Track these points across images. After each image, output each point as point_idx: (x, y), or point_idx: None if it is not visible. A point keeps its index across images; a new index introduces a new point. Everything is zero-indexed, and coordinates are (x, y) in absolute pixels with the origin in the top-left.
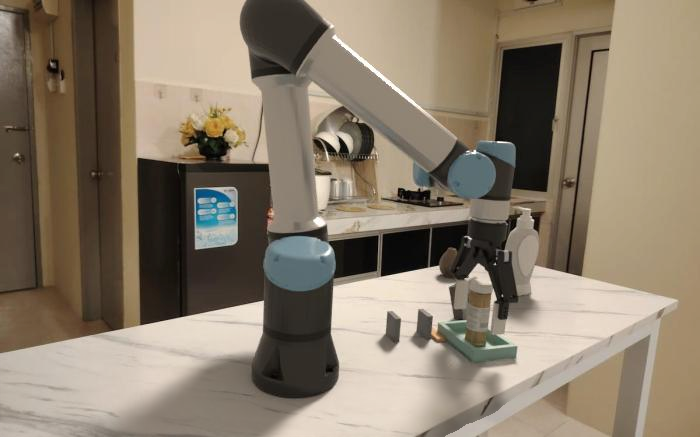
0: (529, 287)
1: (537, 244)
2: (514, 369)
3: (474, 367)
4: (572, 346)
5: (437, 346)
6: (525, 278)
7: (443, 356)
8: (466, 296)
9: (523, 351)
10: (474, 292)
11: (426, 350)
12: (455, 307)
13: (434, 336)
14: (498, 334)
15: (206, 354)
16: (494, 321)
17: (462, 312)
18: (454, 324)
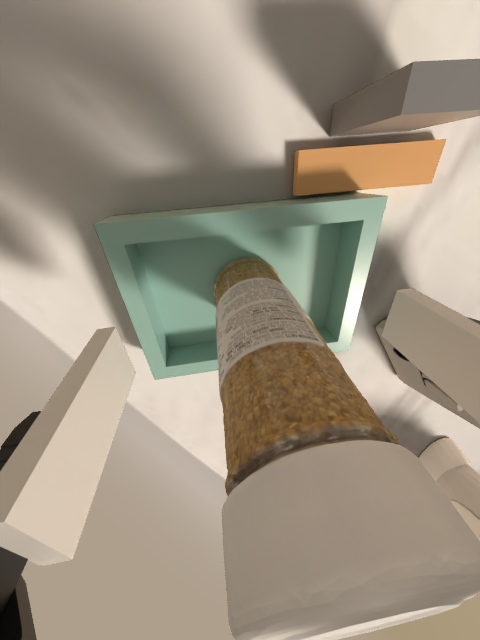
0: None
1: None
2: (87, 325)
3: (74, 204)
4: (212, 455)
5: (257, 128)
6: (447, 495)
7: (162, 104)
8: (426, 370)
9: (196, 381)
10: (293, 445)
11: (226, 30)
12: (404, 294)
13: (324, 148)
14: None
15: None
16: (64, 379)
17: None
18: (350, 265)
